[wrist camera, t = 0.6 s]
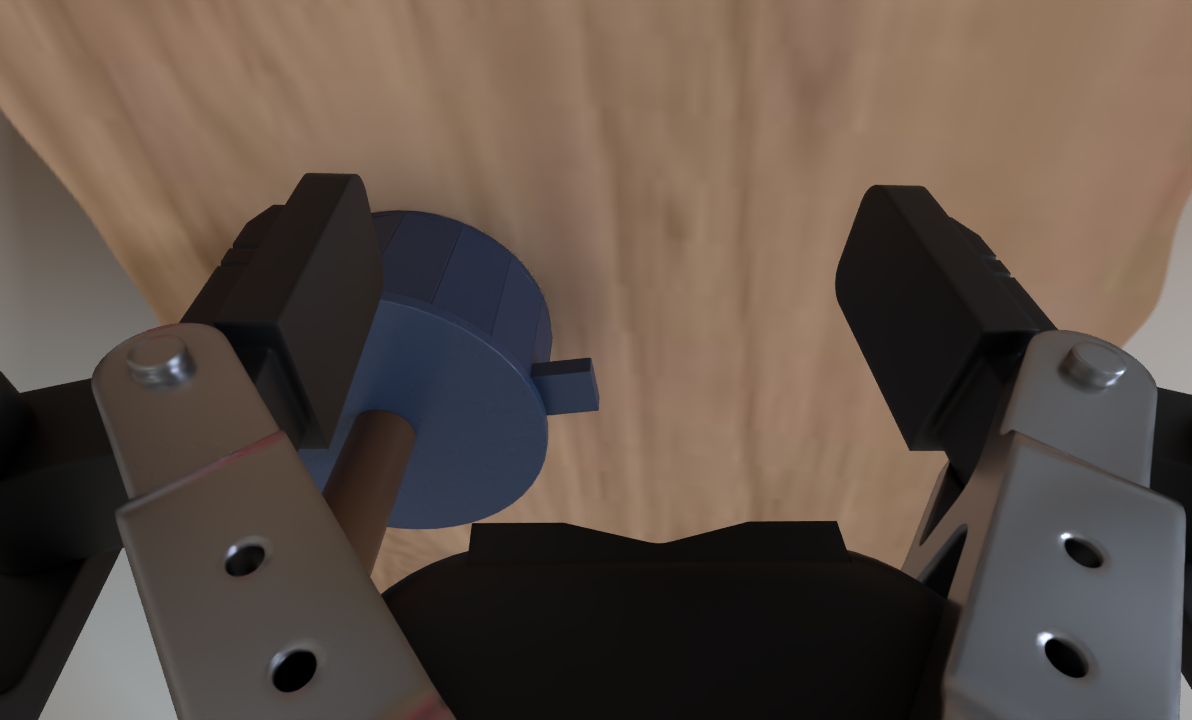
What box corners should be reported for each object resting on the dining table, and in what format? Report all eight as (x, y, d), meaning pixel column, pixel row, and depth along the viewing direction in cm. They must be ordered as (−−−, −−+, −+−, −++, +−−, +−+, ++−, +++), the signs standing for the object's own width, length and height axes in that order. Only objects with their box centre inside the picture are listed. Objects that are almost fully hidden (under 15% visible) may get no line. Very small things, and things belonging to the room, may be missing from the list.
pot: (200, 236, 32) (106, 326, 26) (575, 184, 29) (565, 270, 24) (318, 427, 40) (267, 526, 34) (615, 398, 38) (615, 499, 32)
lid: (156, 301, 26) (-7, 466, 19) (506, 257, 24) (463, 421, 17) (313, 520, 35) (241, 683, 28) (575, 499, 33) (564, 668, 26)
